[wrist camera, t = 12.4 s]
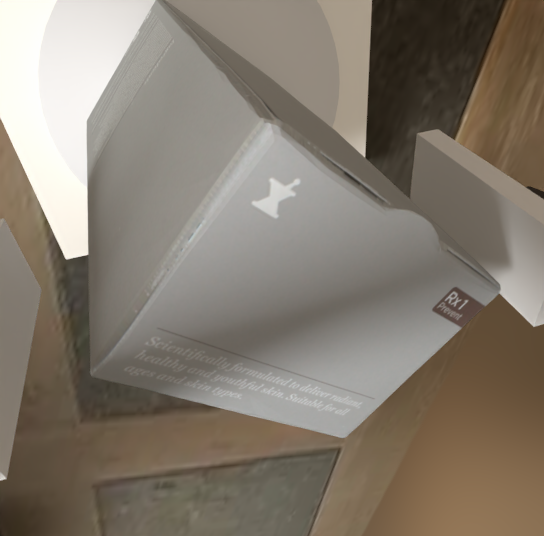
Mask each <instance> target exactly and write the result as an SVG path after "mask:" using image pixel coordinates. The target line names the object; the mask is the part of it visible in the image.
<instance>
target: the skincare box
mask: <svg viewBox="0 0 544 536" xmlns="http://www.w3.org/2000/svg"><path fill="white" fill-rule="evenodd" d="M87 203H88V265H89V334H90V374H91V375H92V377H94V378H97V379H101V380H106V381H110V382H115V383H119V384H124V385H128V386H132V387H136V388H141V389H145V390H149V391H153V392H157V393H161V394H165V395H170V396H174V397H178V398H182V399H186V400H190V401H194V402H198V403H202V404H206V405H210V406H214V407H218V408H222V409H226V410H230V411H234V412H238V413H242V414H246V415H250V416H254V417H258V418H263V419H267V420H271V421H275V422H279V423H283V424H287V425H291V426H296V427H300V428H304V429H308V430H312V431H316V432H320V433H324V434H328V435H332V436H337V437H340V438H345V437H346V436H347V435H349V434H350V433H351V432H352V431H353V430H354V429H355V428H356V427H358V426H359V425H360V424H361V423H362V422H363V421H364V420H365V419H366V418H367V417H368V416H369V415H370V414H371V413H372V412H373V411H375V410H376V409H377V408H378V407H379V406H380V405H381V404H382V403H383V402H384V401H385V400H386V399H387V398H388V397H389V396H390V395H391V394H392V393H393V392H394V391H395V390H396V389H398V388H399V387H400V386H401V385H402V384H403V383H404V382H405V381H406V380H407V379H408V378H409V377H410V376H411V375H412V374H413V373H414V372H415V371H417V370H418V369H419V368H420V367H421V366H422V365H423V364H424V363H425V362H426V361H427V360H428V359H429V358H431V357H432V356H433V355H434V354H435V353H436V352H437V351H438V350H439V349H440V348H441V347H442V346H443V345H445V344H446V343H447V342H448V341H449V340H450V339H451V338H452V337H453V336H454V335H455V334H456V333H457V332H458V331H459V330H460V329H461V328H462V327H463V326H465V325H466V324H467V323H468V322H469V321H470V320H471V319H472V318H473V317H474V316H475V315H476V314H478V313H479V312H480V311H481V310H482V309H483V308H484V307H485V306H486V305H487V304H488V303H489V302H491V301H492V300H493V299H494V298H495V297H496V296H497V295H498V294H499V293H500V290H501V288H500V284H499V283H498V282H497V281H496V280H495V279H494V278H493V277H492V276H491V275H490V274H489V273H488V272H487V271H486V270H485V269H484V268H483V267H482V266H481V265H480V264H479V263H478V262H477V261H476V260H475V259H474V258H473V257H472V256H470V255H469V254H468V253H467V252H466V251H465V250H464V249H463V248H462V247H461V246H460V245H459V244H458V243H457V242H456V241H455V240H454V239H453V238H451V237H450V236H449V235H448V234H447V233H446V232H445V231H444V230H443V229H442V228H441V227H440V226H438V225H437V224H436V223H435V222H434V221H433V220H432V219H431V218H430V217H429V216H428V215H426V214H425V213H424V212H423V211H422V210H421V209H420V208H419V207H418V206H417V205H416V204H415V203H413V202H412V201H411V200H410V199H409V198H408V197H407V196H406V195H405V194H404V193H403V192H402V191H400V190H399V189H398V188H397V187H396V186H395V185H394V184H393V183H392V182H391V181H390V180H388V179H387V178H386V177H385V176H384V175H383V174H382V173H381V172H380V171H379V170H378V169H377V168H375V167H374V166H373V165H372V164H371V163H370V162H369V161H368V160H367V159H366V158H365V157H364V156H362V155H361V154H360V153H359V152H358V151H357V150H356V149H355V148H354V147H353V146H352V145H351V144H349V143H348V142H347V141H346V140H345V139H344V138H343V137H342V136H341V135H340V134H339V133H338V132H336V131H335V130H334V129H333V128H332V127H330V126H329V125H328V124H327V123H325V122H324V121H323V120H322V119H320V118H319V117H318V116H317V115H315V114H314V113H313V112H312V111H310V110H309V109H308V108H307V107H305V106H304V105H303V104H302V103H300V102H299V101H298V100H297V99H296V98H294V97H293V96H292V95H291V94H290V93H288V92H287V91H286V90H285V89H284V88H282V87H281V86H280V85H279V84H278V83H276V82H275V81H274V80H273V79H272V78H270V77H269V76H268V75H266V74H265V73H264V72H262V71H261V70H260V69H258V68H257V67H255V66H254V65H253V64H251V63H250V62H249V61H247V60H246V59H244V58H243V57H242V56H240V55H239V54H238V53H236V52H235V51H234V50H232V49H231V48H230V47H228V46H227V45H226V44H224V43H223V42H222V41H220V40H219V39H217V38H216V37H215V36H213V35H212V34H211V33H209V32H208V31H207V30H205V29H204V28H203V27H201V26H200V25H199V24H197V23H196V22H195V21H193V20H192V19H191V18H189V17H188V16H187V15H185V14H184V13H183V12H181V11H180V10H178V9H177V8H176V7H174V6H173V5H172V4H170V3H169V2H168V1H166V0H155V2H154V4H153V6H152V7H151V9H150V11H149V13H148V14H147V16H146V18H145V20H144V21H143V23H142V25H141V27H140V28H139V30H138V32H137V34H136V35H135V37H134V39H133V40H132V42H131V44H130V46H129V48H128V49H127V51H126V53H125V55H124V56H123V58H122V60H121V62H120V63H119V65H118V67H117V69H116V70H115V72H114V74H113V75H112V77H111V79H110V81H109V82H108V84H107V86H106V87H105V89H104V91H103V93H102V95H101V96H100V98H99V100H98V102H97V103H96V105H95V107H94V109H93V110H92V112H91V114H90V116H89V117H88V119H87Z"/></svg>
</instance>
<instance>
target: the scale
mask: <svg viewBox="0 0 544 536" xmlns="http://www.w3.org/2000/svg"><path fill="white" fill-rule="evenodd" d="M166 1H168V2H169V3H170V4H172V5H173V6H174V7H176V8H177V9H178V10H180V11H181V12H183V13H184V14H185V15H187V16H188V17H189V18H191V19H192V20H193V21H195V22H196V23H197V24H199V25H200V26H201V27H203V28H204V29H205V30H207V31H208V32H209V33H211V34H212V35H213V36H215V37H216V38H217V39H219V40H220V41H222V42H223V43H224V44H226V45H227V46H228V47H230V48H231V49H232V50H234V51H235V52H236V53H238V54H239V55H240V56H242V57H243V58H244V59H246V60H247V61H249V62H250V63H251V64H253V65H254V66H255V67H257V68H258V69H260V70H261V71H262V72H264V73H265V74H266V75H268V76H269V77H270V78H272V79H273V80H274V81H275V82H276V83H278V84H279V85H280V86H281V87H282V88H284V89H285V90H286V91H287V92H288V93H290V94H291V95H292V96H293V97H294V98H296V99H297V100H298V101H299V102H300V103H302V104H303V105H304V106H305V107H307V108H308V109H309V110H310V111H312V112H313V113H314V114H315V115H317V116H318V117H319V118H320V119H322V120H323V121H324V122H325V123H327V124H328V125H329V126H330V127H332V128H333V129H334V130H335V131H336V132H338V133H339V134H340V135H341V136H342V137H343V138H344V139H345V140H346V141H347V142H348V143H349V144H351V145H352V146H353V147H354V148H355V149H356V150H357V151H358V152H359V153H360V154H361V155H362V156H364V157H365V149H366V126H367V103H368V80H369V57H370V34H371V11H372V0H166ZM154 2H155V0H0V118H1V120H2V122H3V124H4V126H5V129H6V131H7V133H8V135H9V137H10V139H11V142H12V144H13V146H14V148H15V150H16V152H17V155H18V157H19V159H20V161H21V163H22V165H23V167H24V170H25V172H26V174H27V176H28V178H29V180H30V183H31V185H32V187H33V189H34V191H35V193H36V196H37V198H38V200H39V202H40V204H41V206H42V209H43V211H44V213H45V215H46V217H47V219H48V222H49V224H50V226H51V228H52V230H53V232H54V234H55V237H56V239H57V241H58V243H59V245H60V247H61V250H62V252H63V254H64V256H65V258H66V259H71V258H75V257H80V256H85V255H88V203H87V119H88V117H89V116H90V114H91V112H92V110H93V109H94V107H95V105H96V103H97V102H98V100H99V98H100V96H101V95H102V93H103V91H104V89H105V87H106V86H107V84H108V82H109V81H110V79H111V77H112V75H113V74H114V72H115V70H116V69H117V67H118V65H119V63H120V62H121V60H122V58H123V56H124V55H125V53H126V51H127V49H128V48H129V46H130V44H131V42H132V40H133V39H134V37H135V35H136V34H137V32H138V30H139V28H140V27H141V25H142V23H143V21H144V20H145V18H146V16H147V14H148V13H149V11H150V9H151V7H152V6H153V4H154Z"/></svg>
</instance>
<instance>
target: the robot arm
mask: <svg viewBox="0 0 544 536" xmlns="http://www.w3.org/2000/svg"><path fill="white" fill-rule="evenodd" d="M410 200H411V201H412V202H413V203H415V204H416V205H417V206H418V207H419V208H420V209H421V210H422V211H423V212H424V213H425V214H426V215H428V216H429V217H430V218H431V219H432V220H433V221H434V222H435V223H436V224H437V225H438V226H440V227H441V228H442V229H443V230H444V231H445V232H446V233H447V234H448V235H449V236H450V237H451V238H453V239H454V240H455V241H456V242H457V243H458V244H459V245H460V246H461V247H462V248H463V249H464V250H465V251H466V252H467V253H468V254H469V255H470V256H472V257H473V258H474V259H475V260H476V261H477V262H478V263H479V264H480V265H481V266H482V267H483V268H484V269H485V270H486V271H487V272H488V273H489V274H490V275H491V276H492V277H493V278H494V279H495V280H496V281H497V282H498V283H499V284H500V288H501V290H500V294H501V295H502V296H503V297H504V298H505V299H506V300H507V301H508V302H509V303H510V304H511V305H512V306H513V307H514V308H515V309H516V310H517V311H518V312H519V313H520V314H521V315H522V316H523V317H524V318H526V320H527V321H528V322H529V323H530V324H532V326H533V327H535V326H538V325H542V324H544V192H543V191H540V190H538V189H535V188H532V187H529V186H528V187H524V186H523V185H521V184H520V183H518V182H517V181H515V180H514V179H512V178H511V177H509V176H508V175H506V174H505V173H503V172H502V171H500V170H499V169H497V168H496V167H494V166H493V165H491V164H490V163H488V162H487V161H485V160H483V159H482V158H480V157H479V156H477V155H476V154H474V153H473V152H471V151H470V150H468V149H467V148H465V147H464V146H462V145H461V144H459V143H458V142H456V141H455V140H453V139H452V138H450V137H449V136H447V135H446V134H444V133H443V132H441V131H440V130H438V129H437V130H432V131H427V132H422V133H417V138H416V147H415V156H414V165H413V174H412V183H411V192H410ZM40 295H41V288H40V286H39V284H38V282H37V280H36V278H35V276H34V274H33V273H32V271H31V269H30V267H29V265H28V263H27V261H26V259H25V257H24V255H23V254H22V252H21V250H20V248H19V246H18V244H17V242H16V240H15V238H14V236H13V235H12V233H11V231H10V229H9V227H8V225H7V223H6V221H5V219H4V218H3V219H0V480H4V479H7V475H8V469H9V464H10V458H11V453H12V447H13V442H14V437H15V431H16V426H17V420H18V415H19V409H20V404H21V398H22V393H23V388H24V382H25V377H26V371H27V366H28V360H29V355H30V350H31V344H32V339H33V333H34V328H35V322H36V317H37V312H38V306H39V301H40Z"/></svg>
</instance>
